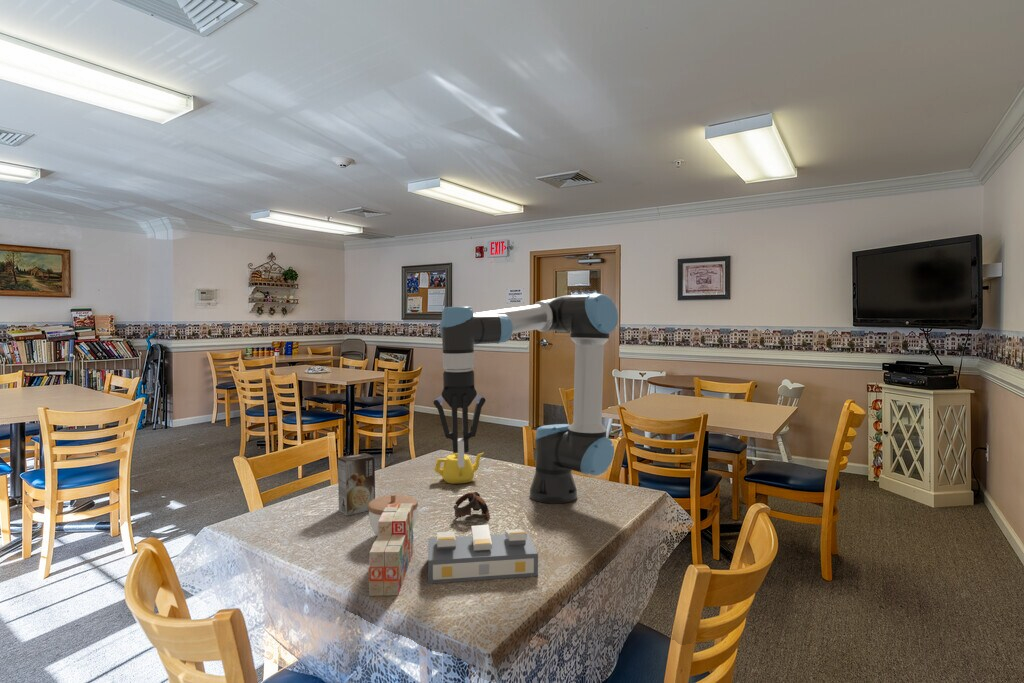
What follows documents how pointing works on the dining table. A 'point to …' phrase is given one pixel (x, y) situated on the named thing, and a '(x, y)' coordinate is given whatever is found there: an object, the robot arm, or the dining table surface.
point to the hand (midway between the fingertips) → (461, 465)
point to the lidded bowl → (380, 504)
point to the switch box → (481, 560)
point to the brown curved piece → (471, 505)
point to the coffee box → (356, 483)
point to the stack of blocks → (391, 550)
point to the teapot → (457, 469)
